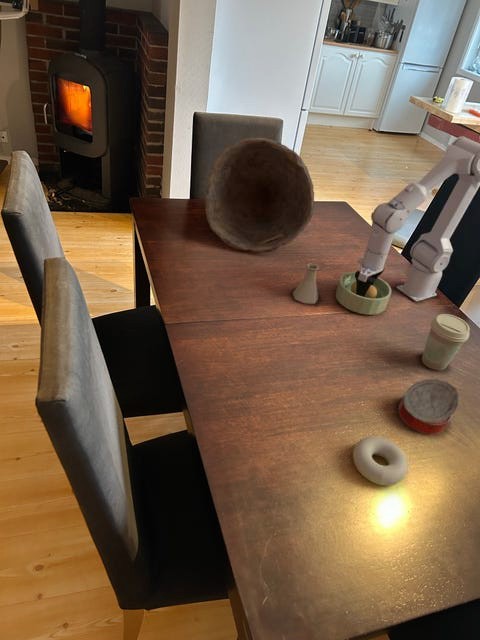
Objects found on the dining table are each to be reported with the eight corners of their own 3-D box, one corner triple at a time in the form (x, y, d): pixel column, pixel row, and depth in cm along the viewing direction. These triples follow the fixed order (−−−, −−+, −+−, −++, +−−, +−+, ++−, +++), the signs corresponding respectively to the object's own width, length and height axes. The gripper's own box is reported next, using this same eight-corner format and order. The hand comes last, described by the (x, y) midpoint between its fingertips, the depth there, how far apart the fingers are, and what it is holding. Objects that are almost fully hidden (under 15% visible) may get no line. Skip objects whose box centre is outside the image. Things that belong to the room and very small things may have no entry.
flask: (317, 307, 128) (325, 275, 122) (291, 301, 128) (298, 269, 123) (318, 293, 134) (327, 262, 128) (293, 287, 134) (301, 257, 128)
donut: (393, 444, 92) (344, 443, 90) (399, 433, 90) (349, 431, 88) (412, 490, 84) (359, 489, 82) (419, 478, 82) (365, 477, 80)
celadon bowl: (361, 284, 141) (366, 268, 138) (395, 309, 132) (402, 293, 128) (325, 293, 134) (329, 276, 131) (358, 321, 125) (364, 304, 122)
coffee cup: (408, 354, 116) (426, 315, 109) (434, 348, 119) (453, 310, 112) (432, 377, 110) (452, 337, 103) (459, 371, 113) (480, 331, 106)
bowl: (280, 133, 166) (273, 111, 137) (331, 217, 168) (335, 213, 139) (201, 187, 174) (178, 178, 144) (251, 268, 176) (238, 274, 147)
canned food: (435, 446, 99) (459, 436, 90) (389, 428, 100) (408, 417, 91) (444, 397, 104) (467, 383, 95) (400, 381, 105) (419, 365, 96)
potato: (346, 295, 132) (350, 282, 129) (352, 289, 135) (356, 275, 132) (371, 305, 129) (376, 292, 126) (376, 298, 132) (381, 285, 130)
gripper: (371, 235, 130) (358, 277, 138) (353, 253, 119) (340, 298, 127) (396, 244, 127) (381, 286, 135) (379, 263, 117) (364, 308, 125)
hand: (362, 292), depth 131 cm, fingers closed on potato, 4 cm apart
